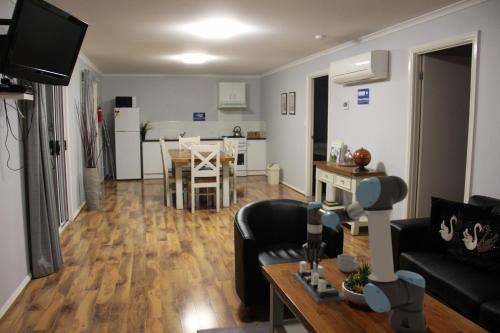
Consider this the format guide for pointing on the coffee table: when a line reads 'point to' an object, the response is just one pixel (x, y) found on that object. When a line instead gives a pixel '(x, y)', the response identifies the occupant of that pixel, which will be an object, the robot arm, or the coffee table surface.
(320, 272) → the breaker handle
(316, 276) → the breaker handle
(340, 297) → the panel
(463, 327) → the coffee table surface
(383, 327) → the coffee table surface
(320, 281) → the breaker handle
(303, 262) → the breaker handle
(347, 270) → the teacup
